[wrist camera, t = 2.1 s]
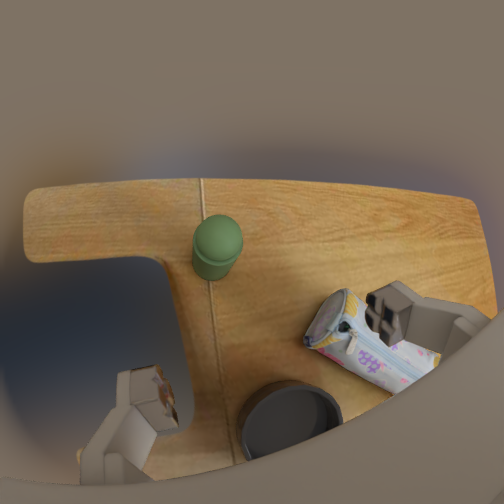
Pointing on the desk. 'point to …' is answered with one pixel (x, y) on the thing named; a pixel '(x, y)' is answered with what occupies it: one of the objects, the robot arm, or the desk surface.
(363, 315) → the pencil case
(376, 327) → the robot arm
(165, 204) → the desk surface
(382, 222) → the desk surface
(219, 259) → the green dome-topped cylinder
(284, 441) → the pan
